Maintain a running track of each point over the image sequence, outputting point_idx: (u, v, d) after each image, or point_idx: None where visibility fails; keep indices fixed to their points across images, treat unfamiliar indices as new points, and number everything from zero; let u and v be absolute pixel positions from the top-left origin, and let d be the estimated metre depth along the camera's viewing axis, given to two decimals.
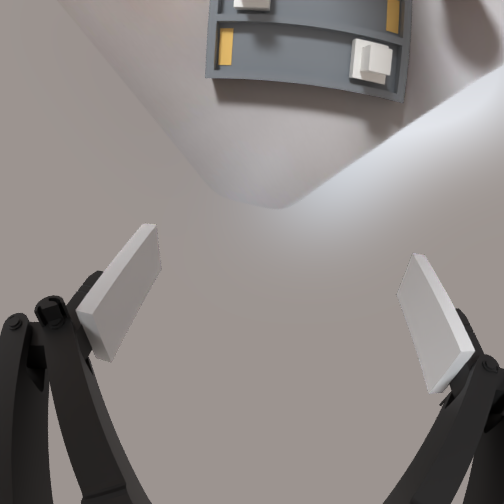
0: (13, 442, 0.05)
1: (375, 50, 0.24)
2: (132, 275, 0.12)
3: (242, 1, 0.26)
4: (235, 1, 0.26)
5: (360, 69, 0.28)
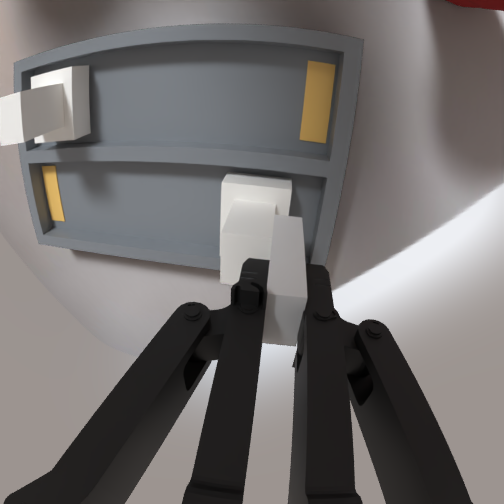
0: (129, 438, 0.06)
1: (232, 244, 0.15)
2: None
3: None
4: None
5: None
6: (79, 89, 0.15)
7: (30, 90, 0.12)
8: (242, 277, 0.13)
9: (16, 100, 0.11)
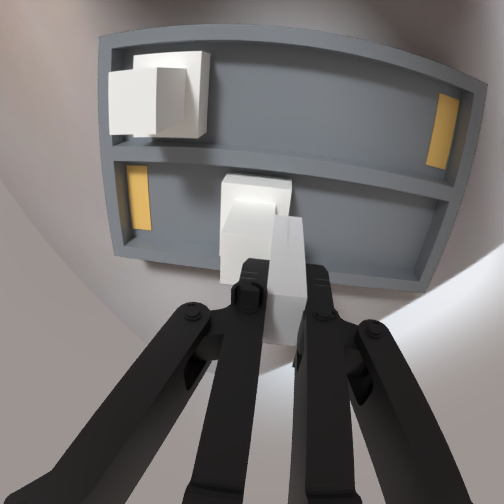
0: (129, 438, 0.06)
1: (232, 244, 0.15)
2: None
3: None
4: None
5: None
6: (204, 79, 0.15)
7: (164, 69, 0.11)
8: (242, 277, 0.13)
9: (149, 77, 0.11)
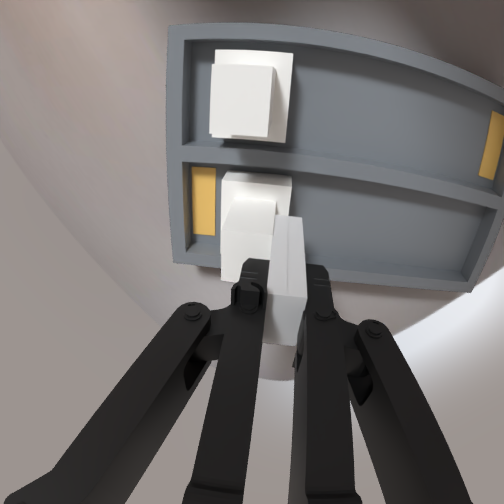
0: (129, 438, 0.06)
1: (232, 242, 0.15)
2: None
3: None
4: None
5: None
6: None
7: (273, 68, 0.11)
8: (242, 277, 0.13)
9: (263, 75, 0.10)
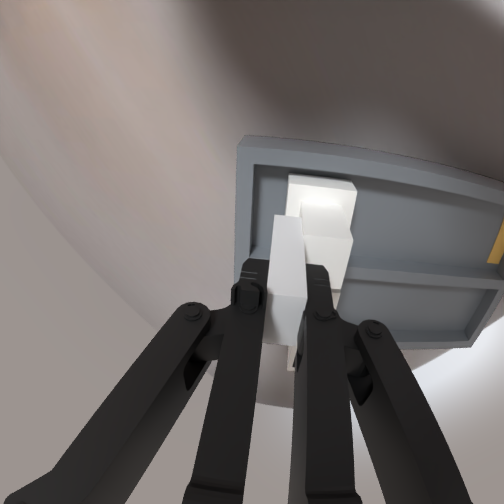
0: (129, 438, 0.06)
1: None
2: None
3: None
4: None
5: None
6: None
7: (349, 232, 0.15)
8: (242, 277, 0.13)
9: (344, 246, 0.14)
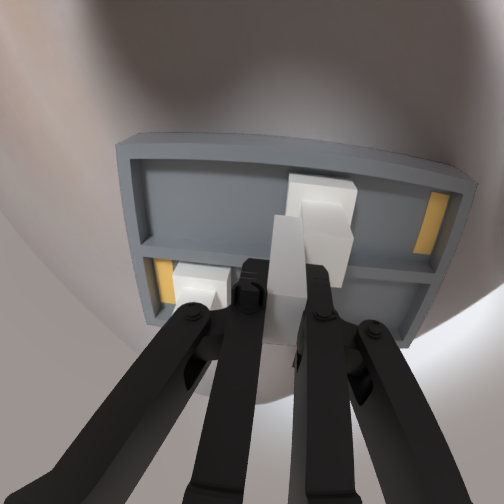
0: (129, 438, 0.06)
1: None
2: None
3: None
4: None
5: None
6: None
7: None
8: (242, 277, 0.13)
9: (345, 245, 0.14)
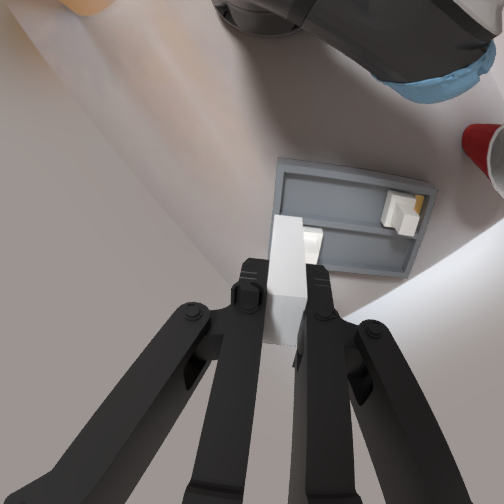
0: (129, 438, 0.06)
1: None
2: None
3: (391, 222, 0.41)
4: (386, 221, 0.41)
5: None
6: None
7: (417, 214, 0.37)
8: (242, 277, 0.13)
9: (416, 219, 0.36)
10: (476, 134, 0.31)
